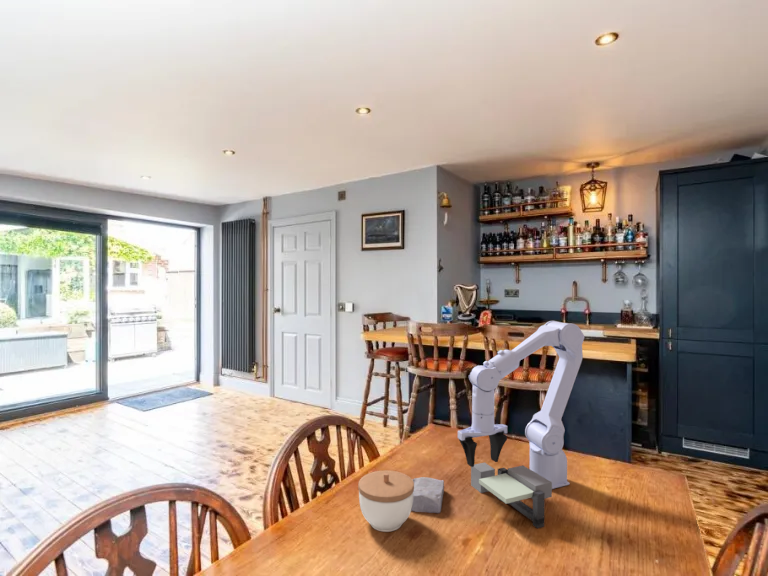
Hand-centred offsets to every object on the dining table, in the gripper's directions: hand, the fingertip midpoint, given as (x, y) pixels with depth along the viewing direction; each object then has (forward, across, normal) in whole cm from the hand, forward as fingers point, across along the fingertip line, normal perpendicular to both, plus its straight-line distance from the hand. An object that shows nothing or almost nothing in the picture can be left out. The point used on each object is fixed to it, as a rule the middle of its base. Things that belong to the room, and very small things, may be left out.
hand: (482, 462), depth 109 cm
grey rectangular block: (+7, 0, 0) cm, 7 cm away
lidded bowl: (+7, +30, +5) cm, 31 cm away
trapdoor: (+2, 0, +13) cm, 13 cm away
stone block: (+7, +17, -1) cm, 19 cm away
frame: (+6, -1, +13) cm, 15 cm away
